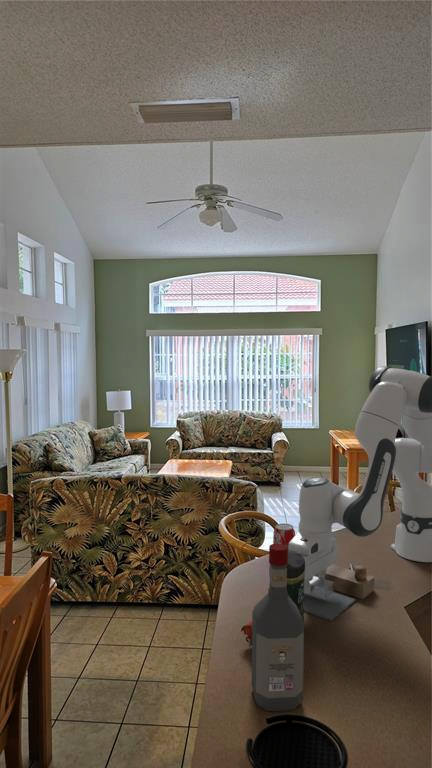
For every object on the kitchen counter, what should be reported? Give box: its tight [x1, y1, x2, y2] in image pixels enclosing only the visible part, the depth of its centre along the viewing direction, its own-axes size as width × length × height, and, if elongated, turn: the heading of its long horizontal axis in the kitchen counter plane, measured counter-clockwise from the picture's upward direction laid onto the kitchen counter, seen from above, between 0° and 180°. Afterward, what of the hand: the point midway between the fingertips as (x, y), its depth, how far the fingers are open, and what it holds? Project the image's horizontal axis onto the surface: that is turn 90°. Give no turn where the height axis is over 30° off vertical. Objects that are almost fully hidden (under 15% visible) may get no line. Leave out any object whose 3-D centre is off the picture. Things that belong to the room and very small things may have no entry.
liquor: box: [251, 543, 305, 712], centre depth 102 cm, size 9×9×30 cm
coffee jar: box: [268, 551, 305, 623], centre depth 127 cm, size 10×8×19 cm
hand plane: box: [315, 564, 375, 600], centre depth 152 cm, size 20×7×9 cm, turn 49°
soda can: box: [272, 523, 296, 552], centre depth 168 cm, size 7×7×12 cm
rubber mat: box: [304, 591, 357, 622], centre depth 143 cm, size 14×18×1 cm
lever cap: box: [304, 576, 334, 599], centre depth 142 cm, size 9×5×4 cm, turn 49°
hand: (314, 588), depth 142 cm, fingers closed on lever cap, 5 cm apart
